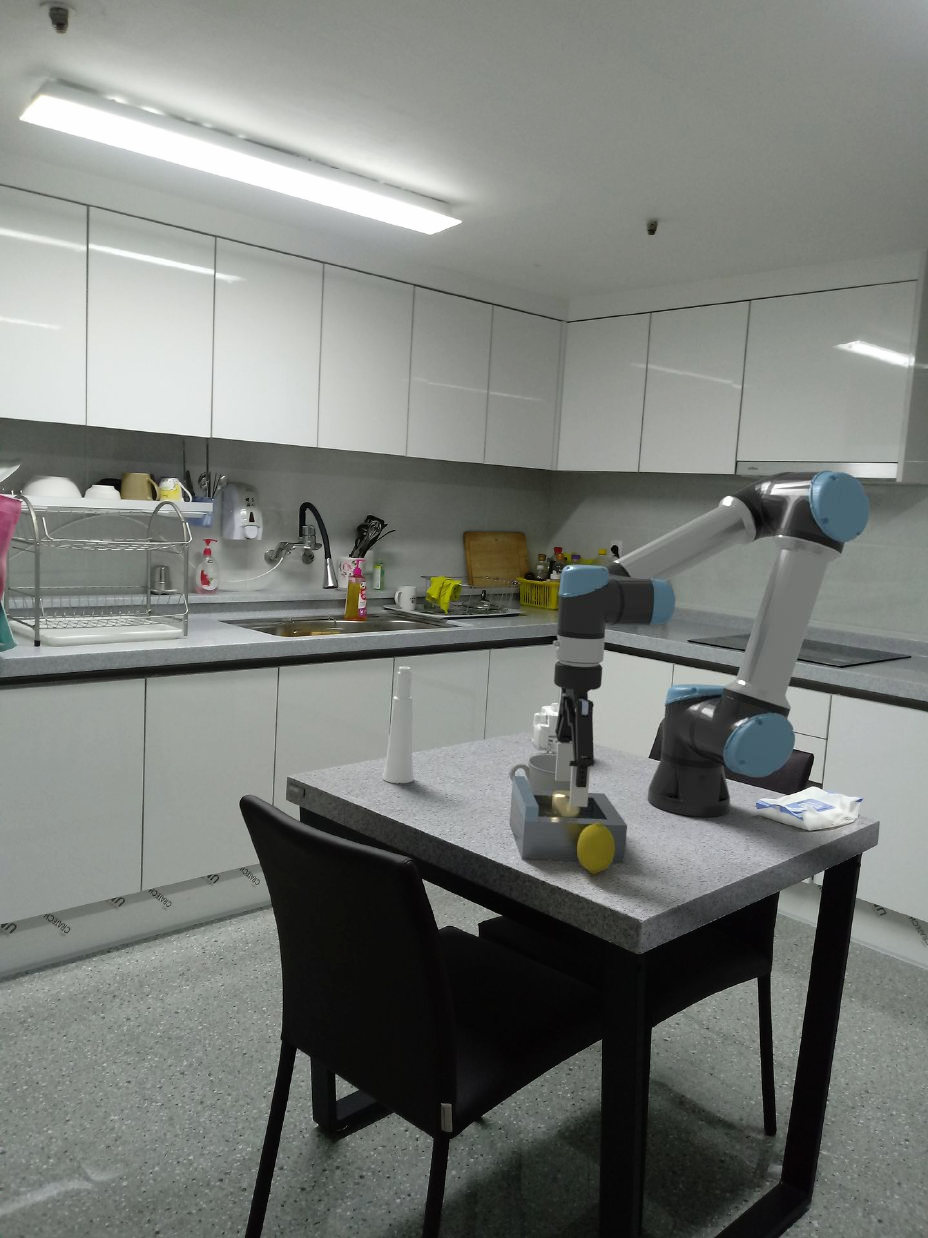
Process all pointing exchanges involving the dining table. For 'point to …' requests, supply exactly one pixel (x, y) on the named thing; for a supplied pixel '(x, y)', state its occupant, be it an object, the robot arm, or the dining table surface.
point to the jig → (558, 824)
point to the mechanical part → (545, 729)
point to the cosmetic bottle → (400, 732)
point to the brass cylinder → (563, 805)
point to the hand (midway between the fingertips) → (570, 792)
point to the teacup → (541, 773)
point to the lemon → (595, 848)
